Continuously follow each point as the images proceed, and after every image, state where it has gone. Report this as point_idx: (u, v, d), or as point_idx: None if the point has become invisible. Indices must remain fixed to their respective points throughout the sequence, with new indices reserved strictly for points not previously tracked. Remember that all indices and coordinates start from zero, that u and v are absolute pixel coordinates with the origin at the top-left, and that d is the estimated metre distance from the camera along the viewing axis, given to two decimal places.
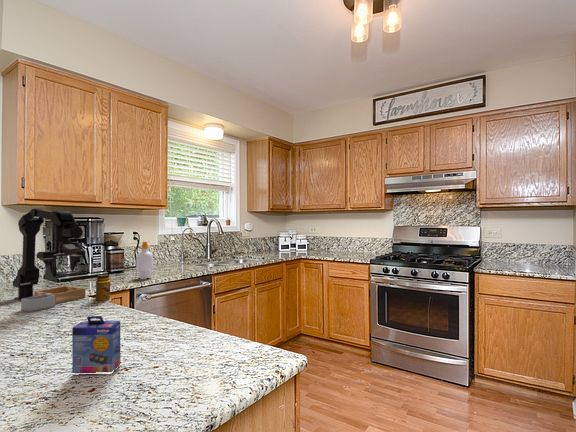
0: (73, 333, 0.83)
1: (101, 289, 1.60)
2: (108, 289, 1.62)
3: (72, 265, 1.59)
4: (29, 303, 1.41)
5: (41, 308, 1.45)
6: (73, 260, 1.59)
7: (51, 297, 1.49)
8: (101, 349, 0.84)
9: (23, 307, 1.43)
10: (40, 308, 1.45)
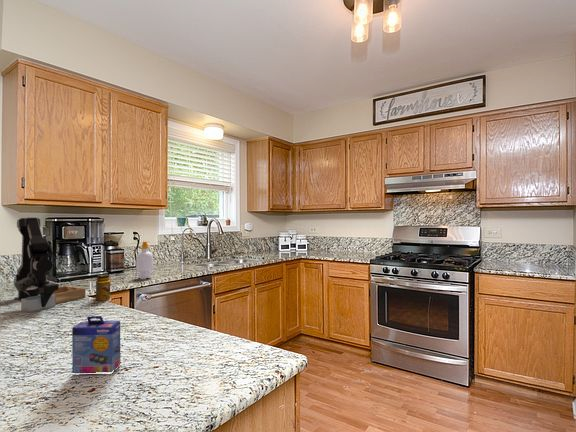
0: (73, 333, 0.83)
1: (101, 289, 1.60)
2: (108, 289, 1.62)
3: None
4: (29, 303, 1.41)
5: (41, 308, 1.45)
6: None
7: (51, 297, 1.49)
8: (101, 349, 0.84)
9: (23, 307, 1.43)
10: (40, 308, 1.45)
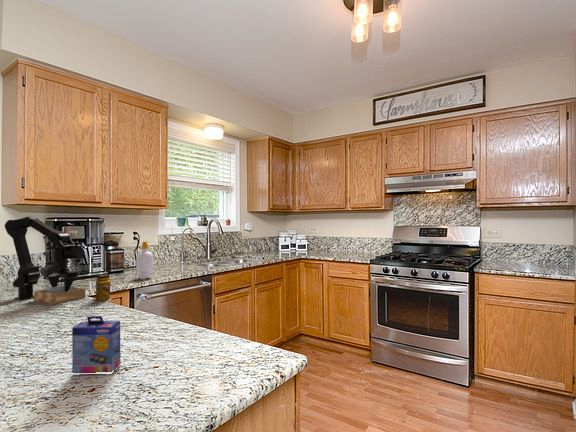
0: (73, 333, 0.83)
1: (101, 289, 1.60)
2: (108, 289, 1.62)
3: None
4: (53, 292, 1.59)
5: None
6: None
7: (71, 287, 1.66)
8: (101, 349, 0.84)
9: None
10: None
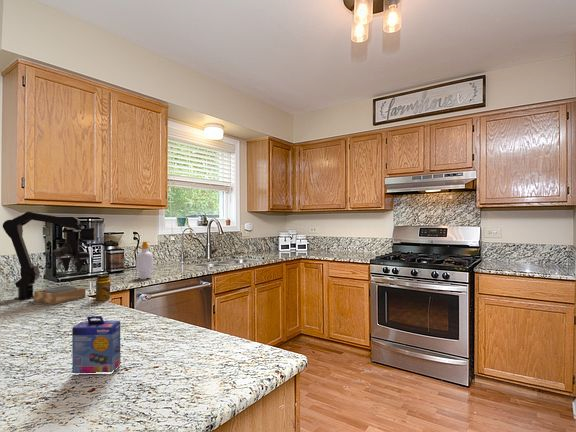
0: (73, 333, 0.83)
1: (101, 289, 1.60)
2: (108, 289, 1.62)
3: None
4: (53, 292, 1.59)
5: None
6: None
7: (71, 287, 1.66)
8: (101, 349, 0.84)
9: None
10: None
